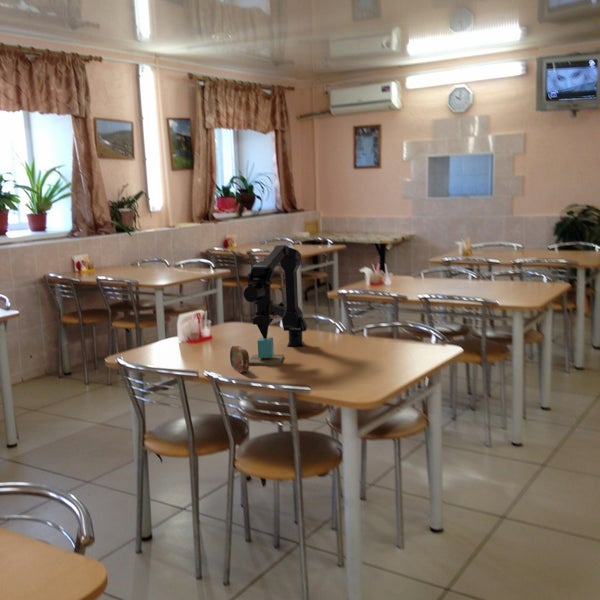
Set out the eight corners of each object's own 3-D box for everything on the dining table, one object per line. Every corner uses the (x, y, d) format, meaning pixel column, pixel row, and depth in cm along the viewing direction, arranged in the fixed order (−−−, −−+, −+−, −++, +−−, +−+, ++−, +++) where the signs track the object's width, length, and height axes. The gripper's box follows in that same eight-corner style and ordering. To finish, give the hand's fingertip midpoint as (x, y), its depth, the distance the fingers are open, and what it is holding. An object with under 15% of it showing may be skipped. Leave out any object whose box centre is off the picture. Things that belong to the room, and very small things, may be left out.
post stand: (252, 357, 272) (252, 337, 271) (283, 357, 271) (282, 336, 270) (248, 365, 260) (247, 344, 259) (280, 365, 259) (279, 344, 258)
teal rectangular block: (260, 354, 268) (259, 337, 267) (273, 354, 268) (273, 337, 267) (258, 357, 263) (257, 340, 262) (272, 357, 263) (271, 340, 262)
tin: (229, 366, 261) (228, 344, 260) (237, 364, 262) (236, 342, 261) (242, 375, 247) (241, 352, 246) (251, 374, 249) (250, 351, 247)
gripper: (282, 301, 252) (283, 343, 254) (287, 293, 270) (288, 332, 273) (251, 302, 253) (253, 344, 255) (258, 293, 271) (260, 333, 274)
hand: (265, 338), depth 264 cm, fingers closed
